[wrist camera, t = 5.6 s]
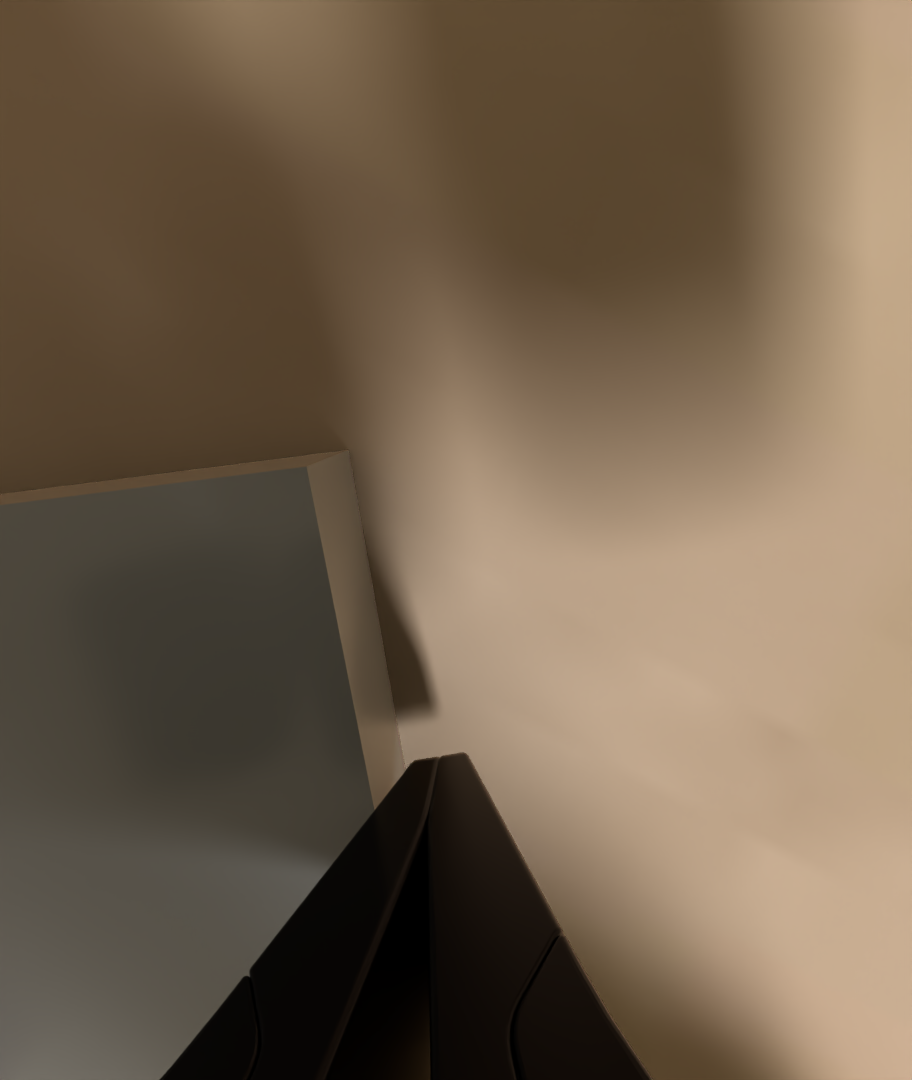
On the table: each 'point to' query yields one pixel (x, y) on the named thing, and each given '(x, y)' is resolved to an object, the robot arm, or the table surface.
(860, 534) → the table surface
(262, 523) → the slate slab
